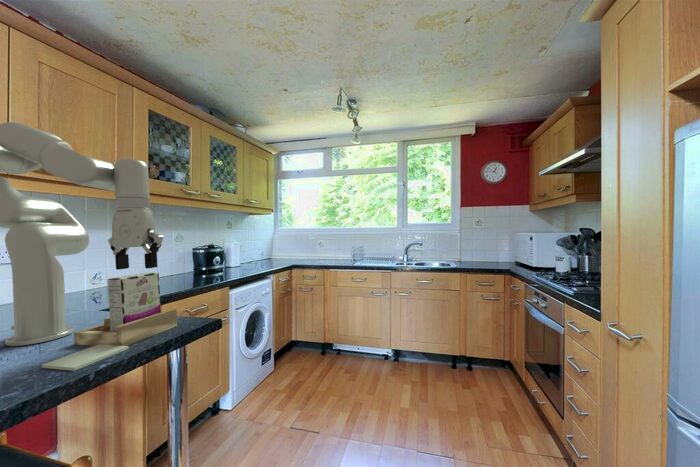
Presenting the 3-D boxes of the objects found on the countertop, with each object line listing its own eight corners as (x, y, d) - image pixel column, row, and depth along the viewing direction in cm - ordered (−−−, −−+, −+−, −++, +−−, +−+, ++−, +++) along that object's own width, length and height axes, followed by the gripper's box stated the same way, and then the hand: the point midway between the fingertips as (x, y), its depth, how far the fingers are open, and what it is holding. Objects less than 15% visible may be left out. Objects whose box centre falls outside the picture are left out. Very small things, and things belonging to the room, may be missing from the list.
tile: (41, 367, 59) (41, 364, 59) (99, 346, 70) (99, 344, 70) (74, 370, 57) (74, 367, 57) (128, 348, 68) (128, 346, 68)
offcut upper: (104, 327, 76) (103, 318, 76) (123, 321, 82) (122, 312, 82) (117, 327, 76) (116, 318, 76) (135, 320, 82) (134, 312, 82)
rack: (74, 344, 72) (73, 324, 72) (135, 324, 88) (135, 308, 88) (122, 347, 69) (121, 326, 69) (177, 325, 84) (176, 309, 84)
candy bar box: (147, 327, 84) (145, 272, 84) (162, 328, 83) (160, 271, 83) (108, 342, 73) (106, 278, 73) (124, 343, 72) (122, 278, 72)
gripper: (93, 207, 76) (97, 271, 76) (146, 201, 72) (150, 269, 72) (122, 209, 83) (125, 267, 83) (171, 204, 79) (174, 265, 79)
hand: (136, 268), depth 78 cm, fingers open, 9 cm apart
